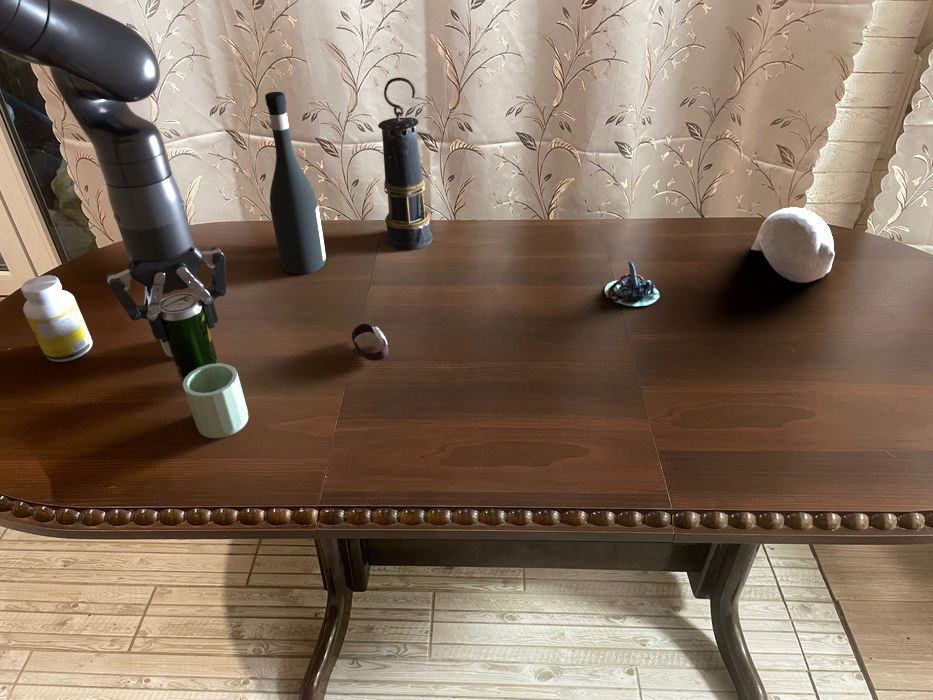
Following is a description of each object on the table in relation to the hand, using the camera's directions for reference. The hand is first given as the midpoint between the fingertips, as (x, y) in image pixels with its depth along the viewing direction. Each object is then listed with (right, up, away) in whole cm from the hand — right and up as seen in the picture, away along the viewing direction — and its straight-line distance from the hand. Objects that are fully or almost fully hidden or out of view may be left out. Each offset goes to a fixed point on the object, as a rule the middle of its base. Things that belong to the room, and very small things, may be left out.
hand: (187, 331), depth 86 cm
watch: (+23, -3, +11) cm, 25 cm away
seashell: (+94, +13, +31) cm, 100 cm away
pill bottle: (-22, -3, +11) cm, 25 cm away
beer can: (0, -6, +5) cm, 8 cm away
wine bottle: (+8, +13, +32) cm, 35 cm away
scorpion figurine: (+65, +7, +23) cm, 69 cm away
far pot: (-5, -2, +12) cm, 13 cm away
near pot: (+5, -12, -2) cm, 13 cm away
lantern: (+26, +19, +40) cm, 51 cm away
